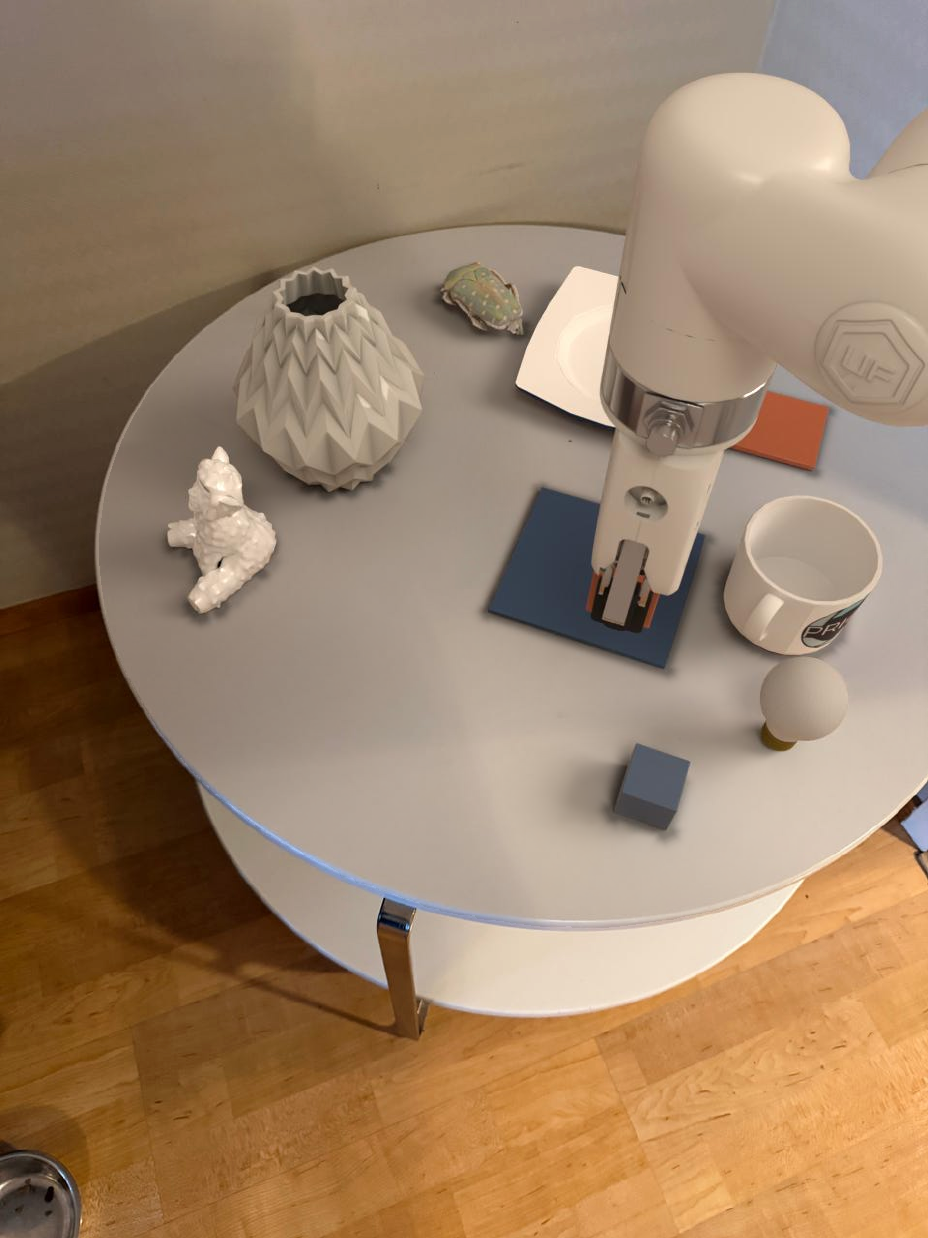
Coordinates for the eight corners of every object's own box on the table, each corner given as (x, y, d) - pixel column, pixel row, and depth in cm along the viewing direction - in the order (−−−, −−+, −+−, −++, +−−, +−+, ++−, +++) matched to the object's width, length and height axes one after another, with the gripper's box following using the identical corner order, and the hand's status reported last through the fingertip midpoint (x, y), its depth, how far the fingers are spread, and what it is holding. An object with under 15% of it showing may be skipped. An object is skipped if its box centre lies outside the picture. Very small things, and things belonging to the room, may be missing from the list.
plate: (566, 278, 100) (568, 257, 98) (756, 327, 97) (763, 306, 94) (500, 409, 90) (501, 389, 88) (709, 469, 87) (716, 450, 84)
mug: (759, 533, 83) (786, 473, 76) (869, 598, 79) (907, 540, 72) (675, 635, 77) (696, 580, 70) (790, 709, 74) (824, 658, 67)
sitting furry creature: (166, 535, 82) (125, 441, 72) (261, 504, 84) (234, 407, 74) (196, 620, 78) (156, 532, 68) (295, 584, 80) (272, 494, 70)
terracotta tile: (827, 411, 91) (829, 406, 90) (812, 471, 87) (814, 466, 86) (744, 389, 92) (746, 384, 92) (726, 447, 88) (728, 442, 88)
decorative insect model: (527, 264, 100) (522, 229, 96) (525, 349, 96) (520, 317, 92) (445, 270, 102) (437, 236, 97) (439, 354, 98) (430, 323, 93)
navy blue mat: (704, 537, 83) (705, 534, 82) (664, 669, 76) (665, 666, 75) (541, 489, 85) (541, 486, 85) (488, 612, 78) (488, 609, 78)
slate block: (679, 782, 71) (690, 761, 67) (666, 831, 69) (677, 811, 65) (627, 764, 71) (636, 742, 68) (613, 812, 69) (621, 791, 66)
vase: (261, 541, 82) (214, 384, 66) (245, 406, 91) (200, 238, 75) (444, 511, 84) (441, 351, 68) (412, 381, 92) (402, 212, 77)
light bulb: (797, 790, 70) (843, 733, 62) (723, 751, 72) (759, 690, 63) (825, 729, 73) (873, 666, 64) (754, 692, 75) (792, 627, 66)
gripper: (729, 532, 39) (652, 725, 54) (796, 279, 47) (712, 509, 63) (554, 484, 40) (528, 686, 56) (648, 246, 48) (603, 479, 64)
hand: (626, 591), depth 59 cm, fingers closed on terracotta block, 4 cm apart
